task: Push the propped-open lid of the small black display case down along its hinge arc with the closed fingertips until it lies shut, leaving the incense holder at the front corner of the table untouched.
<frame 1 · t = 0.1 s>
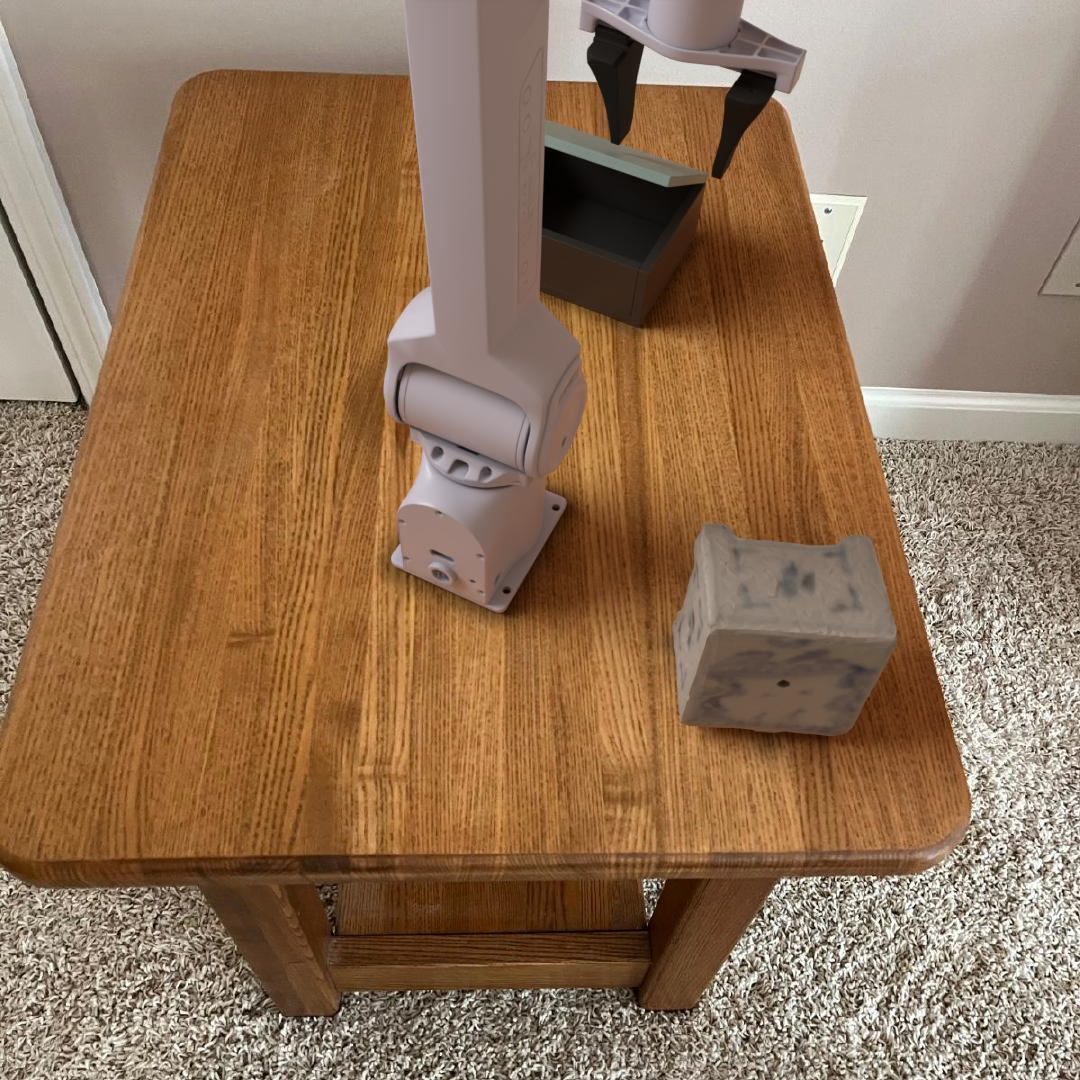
hand: (669, 153, 69), 10 cm above the table, tool pointing down, fingers open, 7 cm apart
case: (589, 253, 78), on the table
lid: (602, 150, 71), point 9 cm above the table, hinge at 31.6°
incense holder: (753, 675, 58), on the table
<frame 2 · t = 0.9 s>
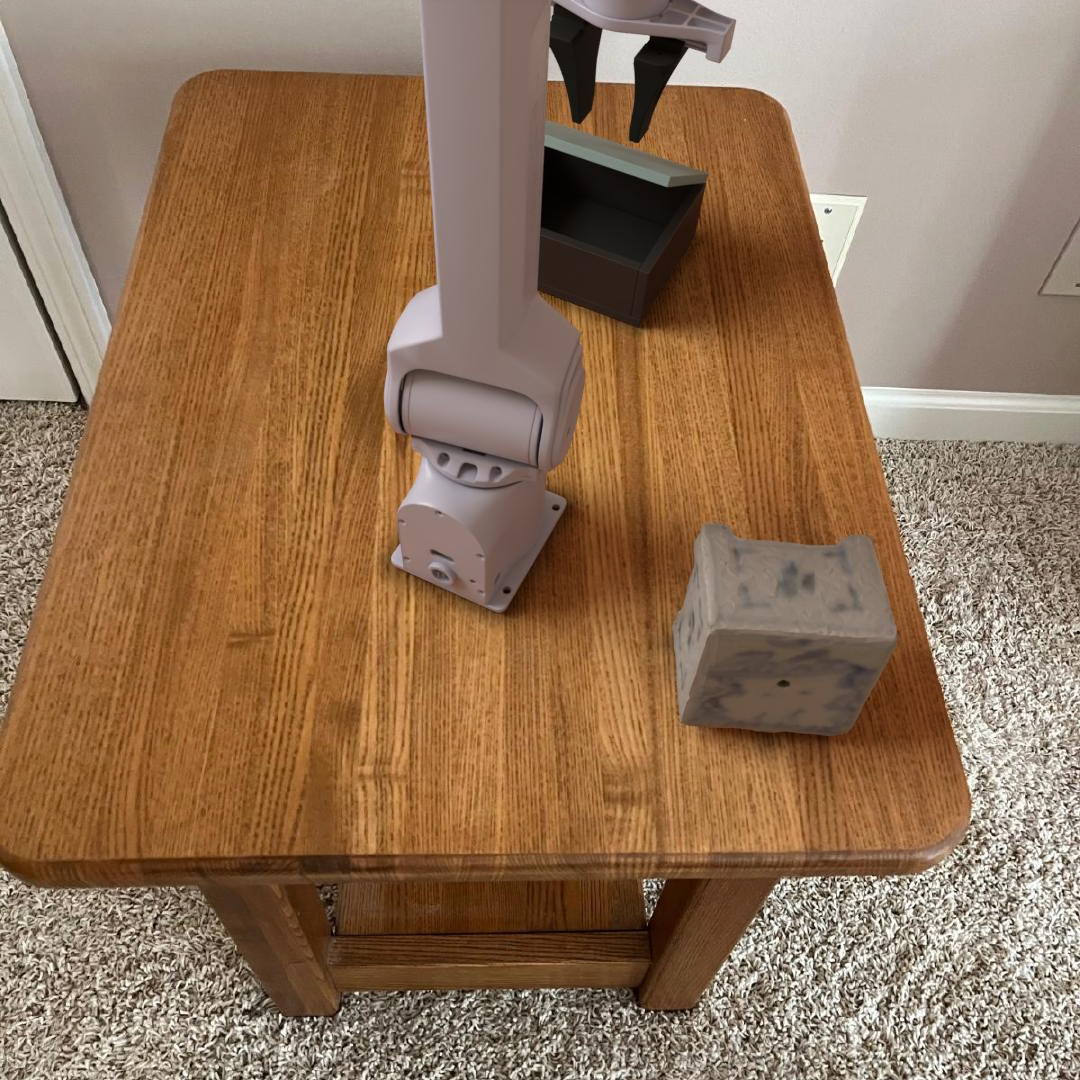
hand: (610, 125, 70), 10 cm above the table, tool pointing down, fingers open, 4 cm apart
nothing on the table moved.
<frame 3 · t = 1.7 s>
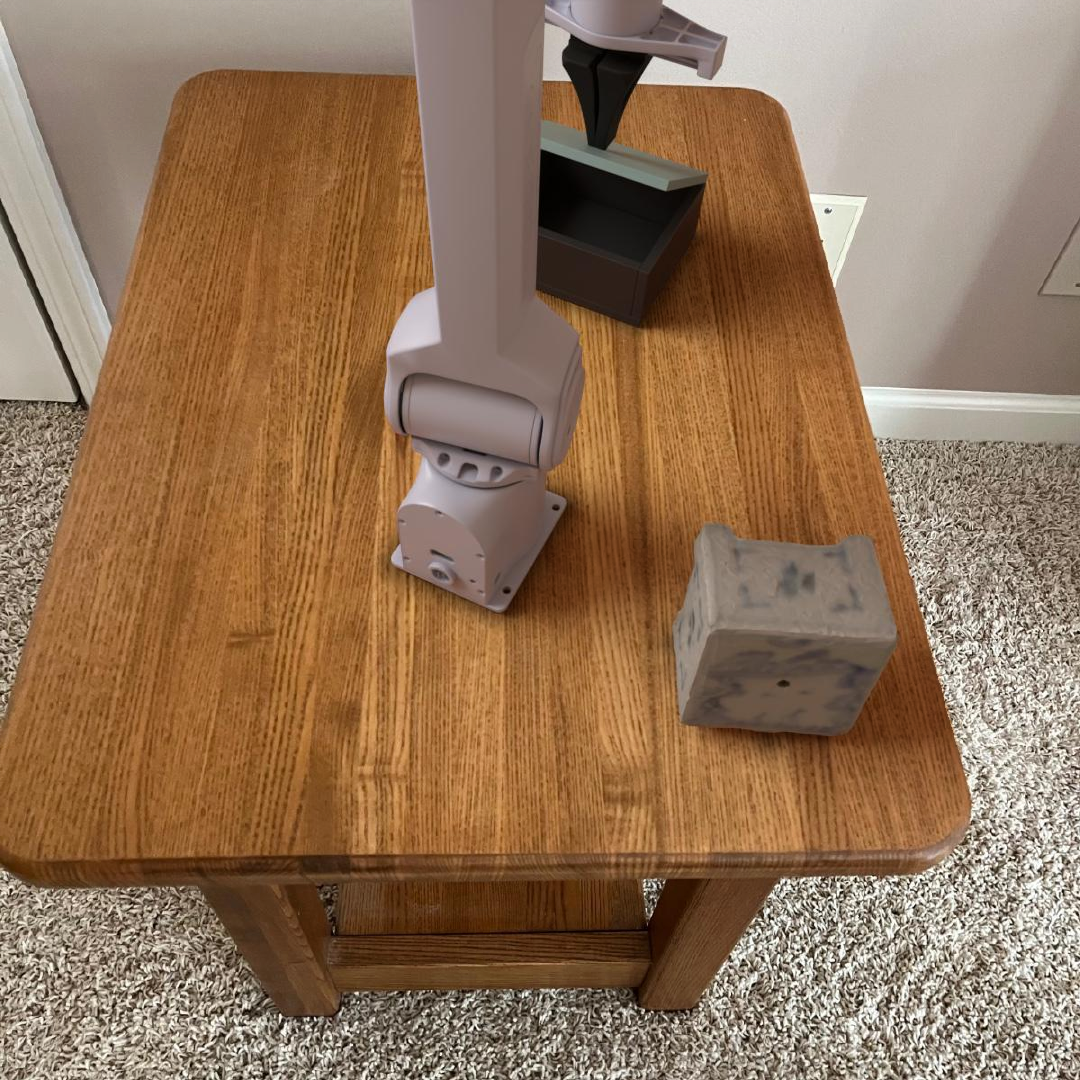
hand: (601, 140, 70), 10 cm above the table, tool pointing down, fingers closed, pressing on lid
lid: (601, 152, 71), point 9 cm above the table, hinge at 30.4°, touching gripper
everything else where it was.
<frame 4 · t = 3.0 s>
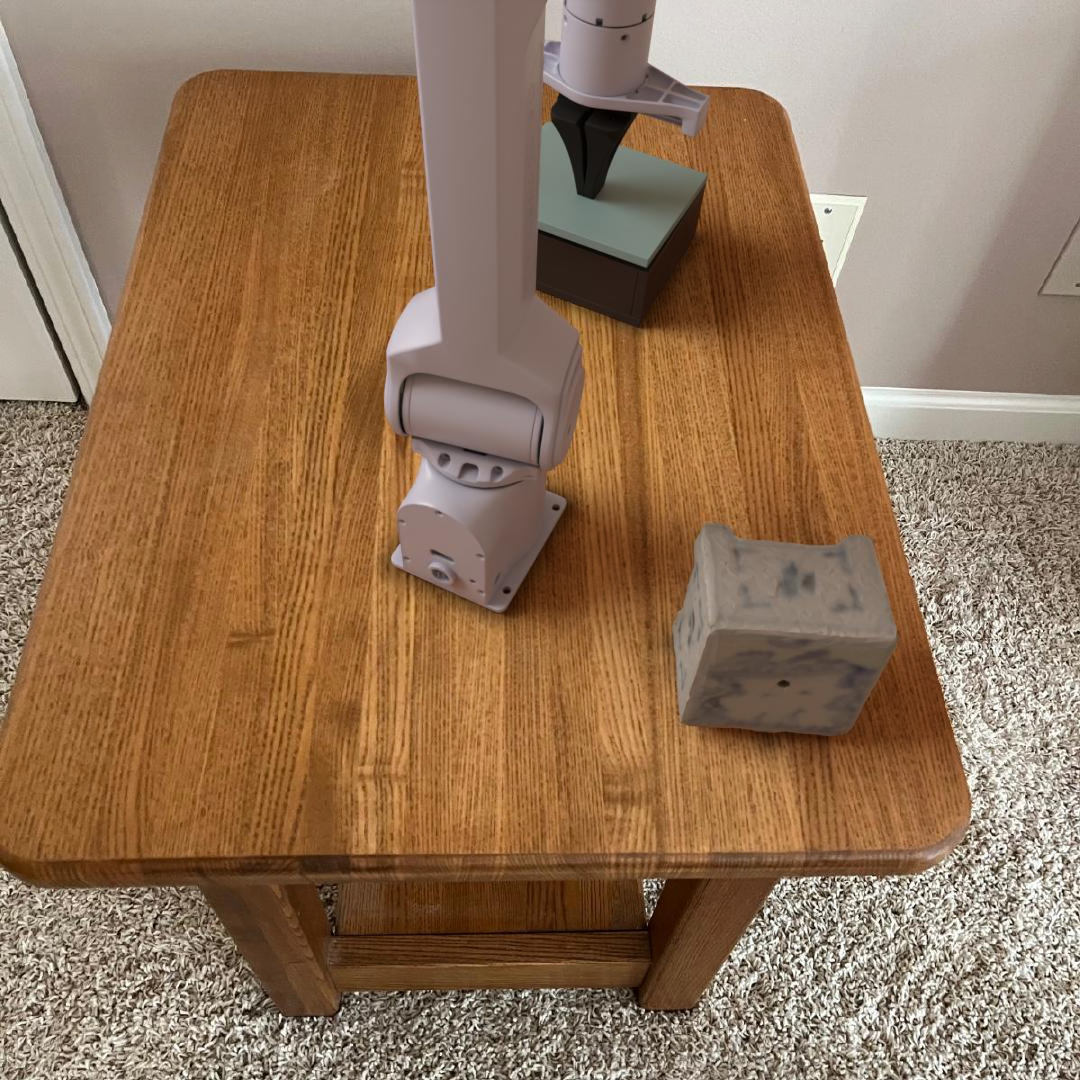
hand: (590, 189, 72), 7 cm above the table, tool pointing down, fingers closed, pressing on lid
lid: (594, 189, 73), point 6 cm above the table, hinge at 4.8°, touching gripper
everything else where it was.
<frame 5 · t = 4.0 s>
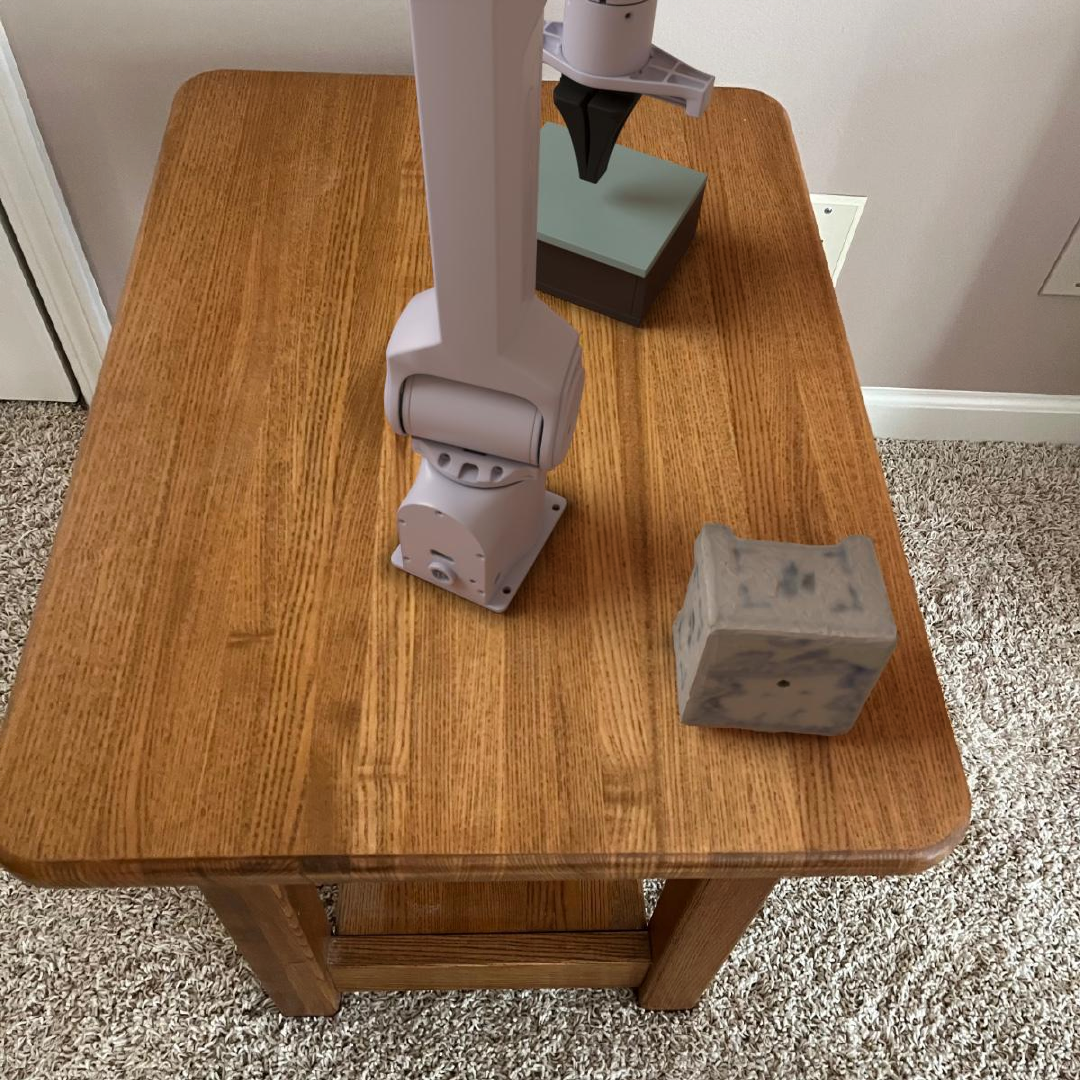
hand: (593, 174, 71), 8 cm above the table, tool pointing down, fingers closed
lid: (593, 194, 73), point 6 cm above the table, hinge at 0.7°
everything else where it was.
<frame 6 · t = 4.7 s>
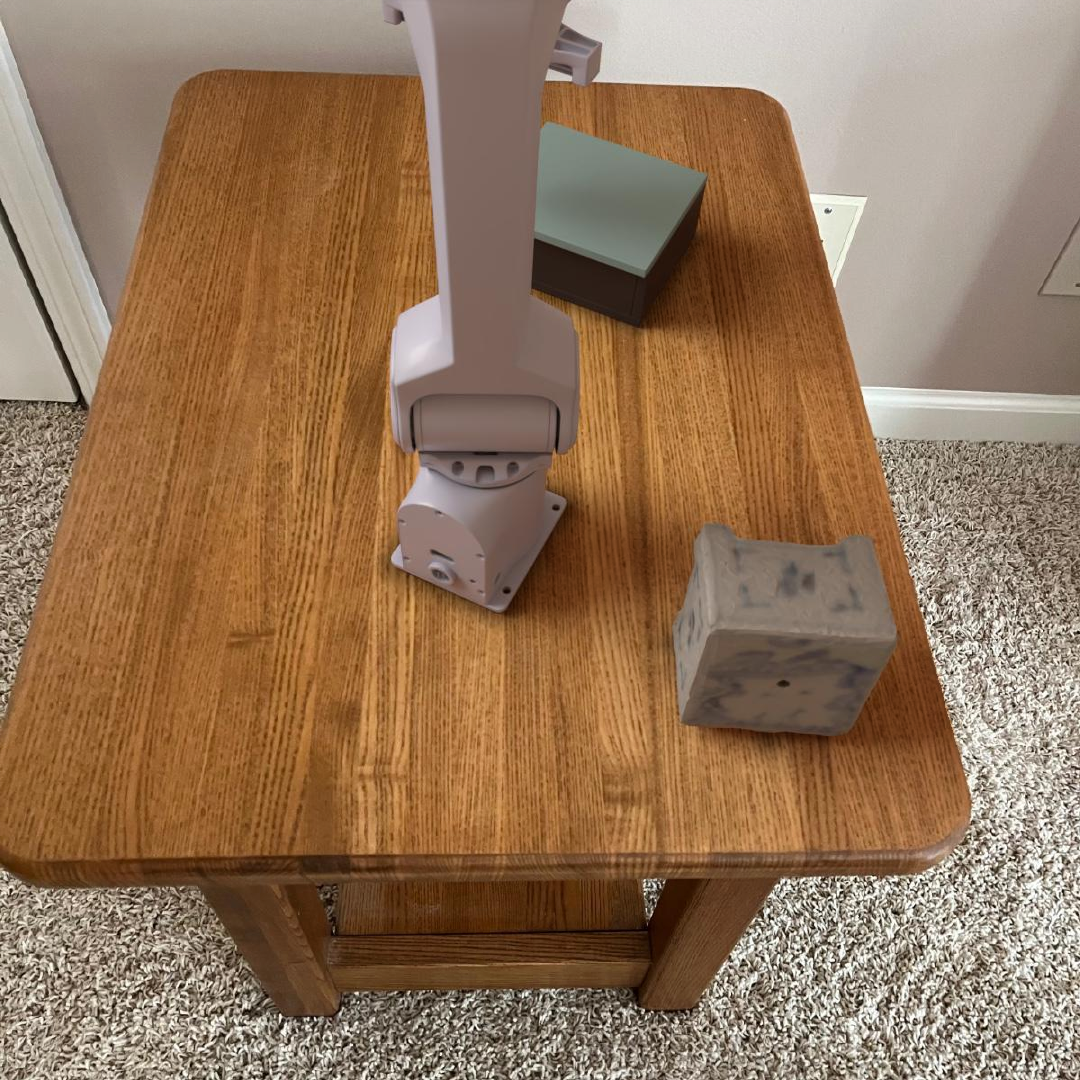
hand: (489, 148, 68), 10 cm above the table, tool pointing down, fingers closed
nothing on the table moved.
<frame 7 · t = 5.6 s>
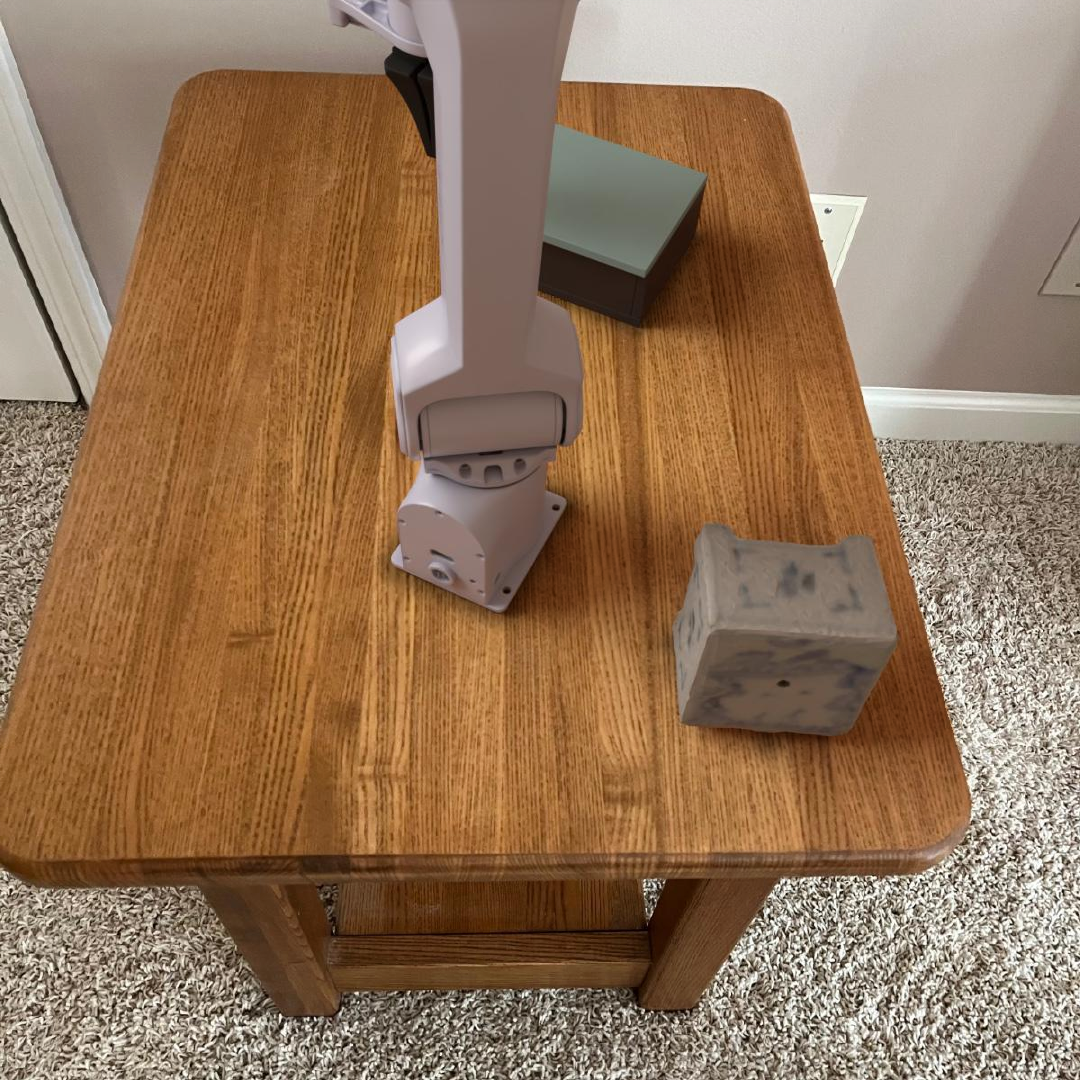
hand: (441, 150, 68), 10 cm above the table, tool pointing down, fingers closed
nothing on the table moved.
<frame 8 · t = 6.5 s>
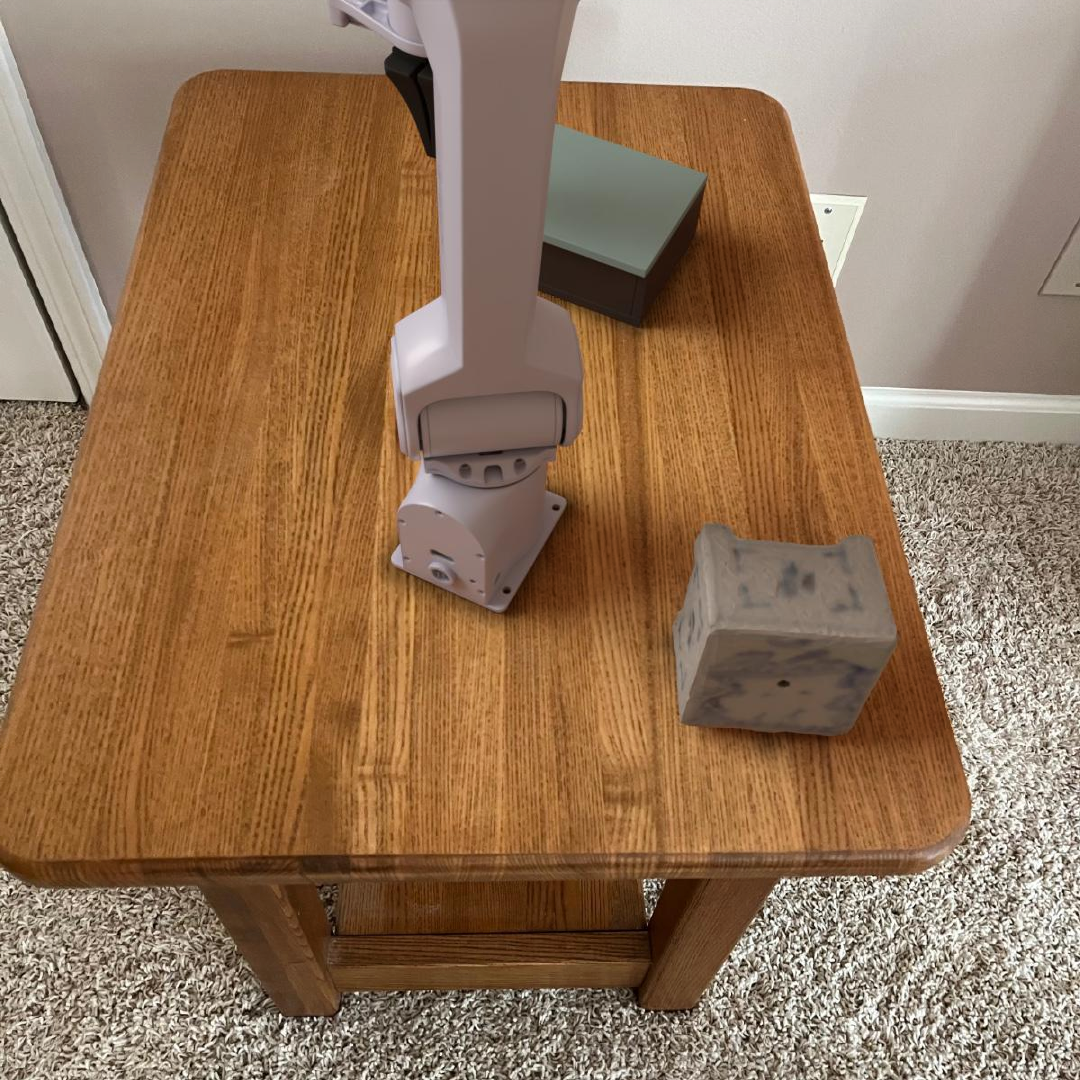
hand: (441, 150, 68), 10 cm above the table, tool pointing down, fingers closed
nothing on the table moved.
at the end: lid at +1° (first picture: +32°); incense holder moved 0.2 cm from its start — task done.
